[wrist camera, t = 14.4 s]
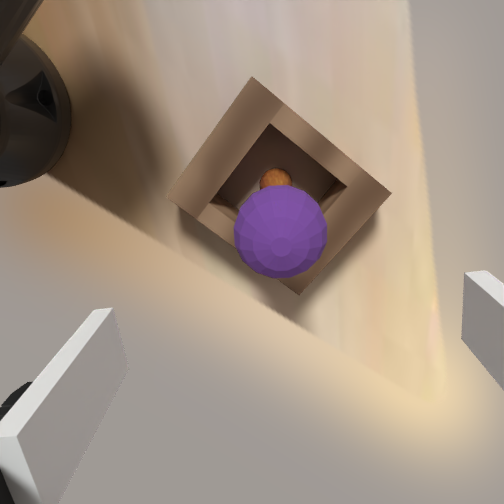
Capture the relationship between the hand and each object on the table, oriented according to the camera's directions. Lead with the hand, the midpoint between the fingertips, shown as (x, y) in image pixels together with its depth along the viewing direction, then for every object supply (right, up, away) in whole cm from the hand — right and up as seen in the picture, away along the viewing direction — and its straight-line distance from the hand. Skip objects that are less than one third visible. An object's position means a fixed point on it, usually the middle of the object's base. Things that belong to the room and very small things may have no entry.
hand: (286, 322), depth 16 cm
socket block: (+1, +9, +27) cm, 29 cm away
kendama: (+1, +10, +27) cm, 29 cm away
